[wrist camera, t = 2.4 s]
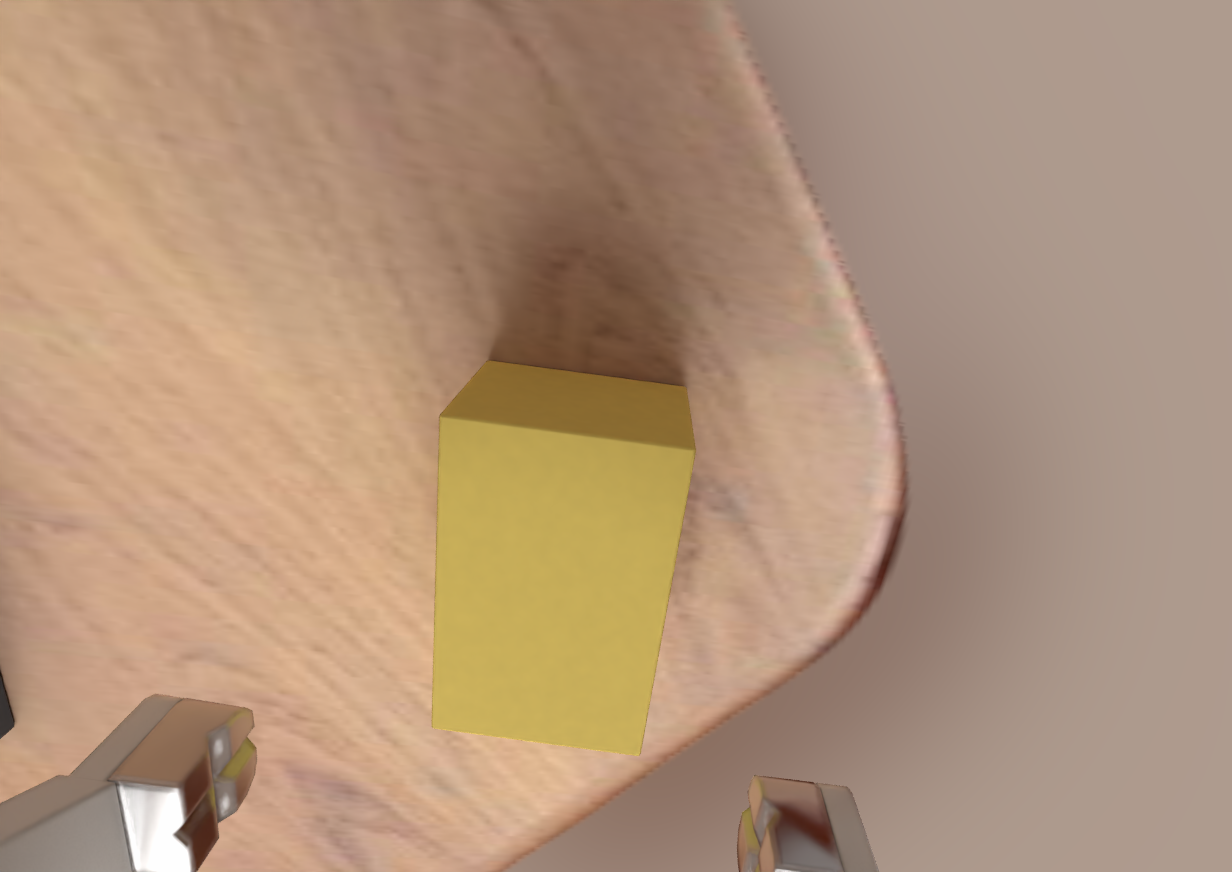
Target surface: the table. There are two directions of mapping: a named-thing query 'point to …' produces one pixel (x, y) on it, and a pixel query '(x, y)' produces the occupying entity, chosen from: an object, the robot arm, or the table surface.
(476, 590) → the sponge
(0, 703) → the tray
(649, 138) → the table surface
